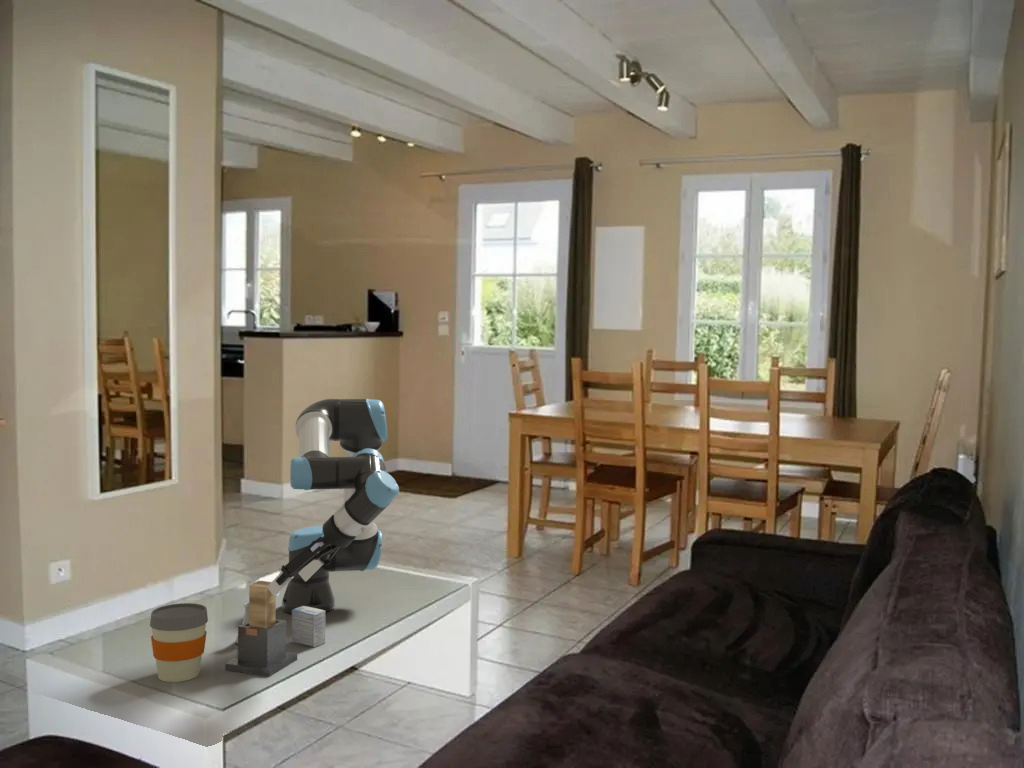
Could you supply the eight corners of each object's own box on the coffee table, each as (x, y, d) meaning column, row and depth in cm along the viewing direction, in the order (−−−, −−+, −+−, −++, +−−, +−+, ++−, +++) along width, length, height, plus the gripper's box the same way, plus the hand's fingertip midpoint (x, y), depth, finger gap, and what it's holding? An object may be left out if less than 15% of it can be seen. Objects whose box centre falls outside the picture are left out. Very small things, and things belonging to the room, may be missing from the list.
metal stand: (254, 653, 220) (255, 613, 220) (297, 659, 216) (297, 619, 216) (225, 669, 209) (225, 627, 208) (269, 676, 205) (270, 633, 205)
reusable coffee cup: (138, 682, 200) (138, 616, 199) (169, 663, 212) (169, 601, 212) (189, 687, 198) (189, 620, 197) (217, 667, 210) (218, 604, 210)
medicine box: (325, 643, 229) (326, 610, 229) (313, 648, 225) (314, 614, 225) (303, 637, 233) (303, 605, 233) (291, 642, 229) (291, 609, 229)
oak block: (259, 653, 215) (259, 580, 215) (276, 656, 214) (276, 582, 213) (247, 660, 211) (248, 585, 210) (264, 662, 209) (265, 587, 209)
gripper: (328, 548, 191) (267, 610, 196) (379, 527, 215) (323, 583, 220) (306, 522, 192) (246, 584, 197) (359, 504, 216) (305, 560, 221)
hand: (287, 584), depth 209 cm, fingers open, 13 cm apart
